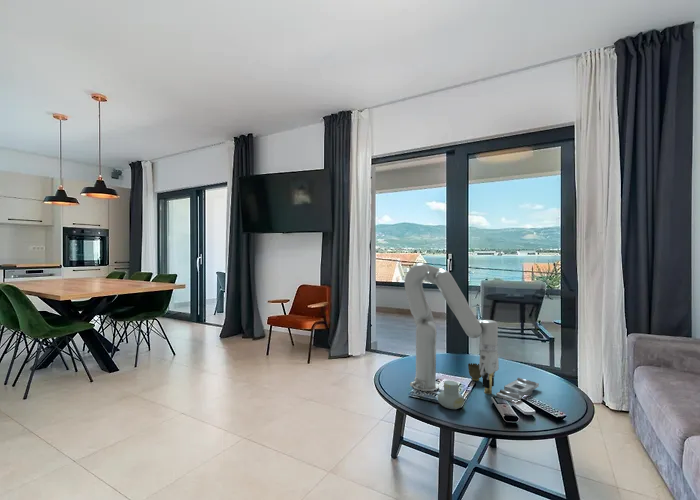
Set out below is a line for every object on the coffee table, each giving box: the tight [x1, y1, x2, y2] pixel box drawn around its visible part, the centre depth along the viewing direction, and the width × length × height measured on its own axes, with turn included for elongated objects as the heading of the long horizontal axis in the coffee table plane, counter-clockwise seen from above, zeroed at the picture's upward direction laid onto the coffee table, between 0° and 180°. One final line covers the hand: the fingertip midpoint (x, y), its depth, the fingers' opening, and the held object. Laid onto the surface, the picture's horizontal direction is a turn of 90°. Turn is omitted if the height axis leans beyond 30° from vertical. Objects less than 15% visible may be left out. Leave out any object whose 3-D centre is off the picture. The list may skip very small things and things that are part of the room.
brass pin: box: [483, 371, 493, 395], centre depth 163 cm, size 4×4×10 cm
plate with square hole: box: [495, 377, 540, 402], centre depth 164 cm, size 24×9×4 cm, turn 131°
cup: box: [467, 362, 482, 382], centre depth 179 cm, size 8×7×8 cm
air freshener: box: [437, 380, 465, 410], centre depth 149 cm, size 11×8×10 cm
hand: (488, 386), depth 163 cm, fingers closed on brass pin, 3 cm apart
